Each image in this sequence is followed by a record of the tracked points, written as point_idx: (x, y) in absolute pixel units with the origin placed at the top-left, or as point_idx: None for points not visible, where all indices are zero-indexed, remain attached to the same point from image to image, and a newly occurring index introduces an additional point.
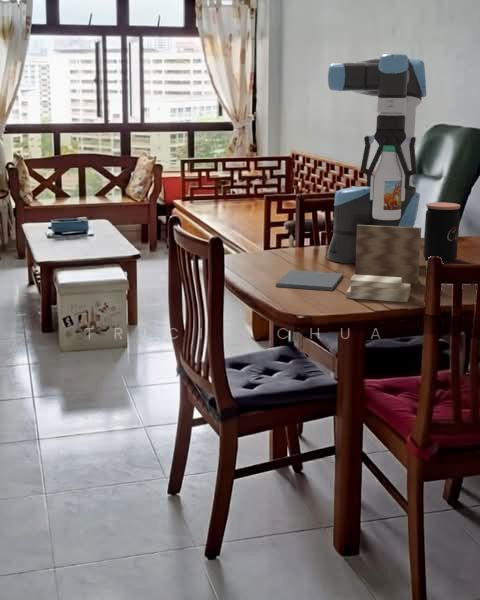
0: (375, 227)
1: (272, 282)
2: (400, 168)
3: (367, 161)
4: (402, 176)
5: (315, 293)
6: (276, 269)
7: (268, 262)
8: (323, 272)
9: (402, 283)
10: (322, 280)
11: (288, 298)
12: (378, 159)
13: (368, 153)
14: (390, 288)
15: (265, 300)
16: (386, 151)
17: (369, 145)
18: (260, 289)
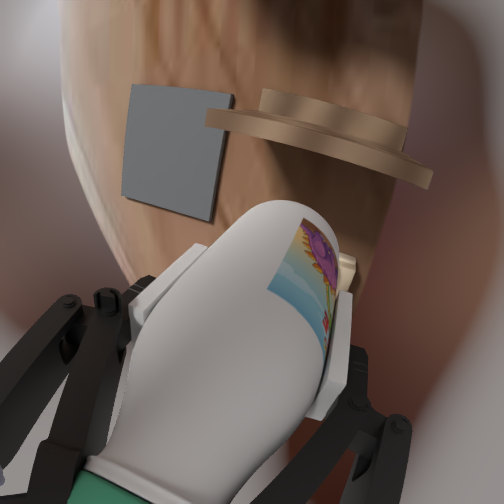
0: (268, 139)
1: (116, 162)
2: (289, 436)
3: (49, 351)
4: (313, 404)
5: (185, 238)
6: (115, 57)
7: (105, 9)
8: (190, 90)
9: (340, 266)
10: (189, 166)
11: (152, 268)
12: (98, 401)
13: (29, 411)
14: None
15: (129, 276)
16: (110, 471)
17: (10, 461)
18: (110, 213)
